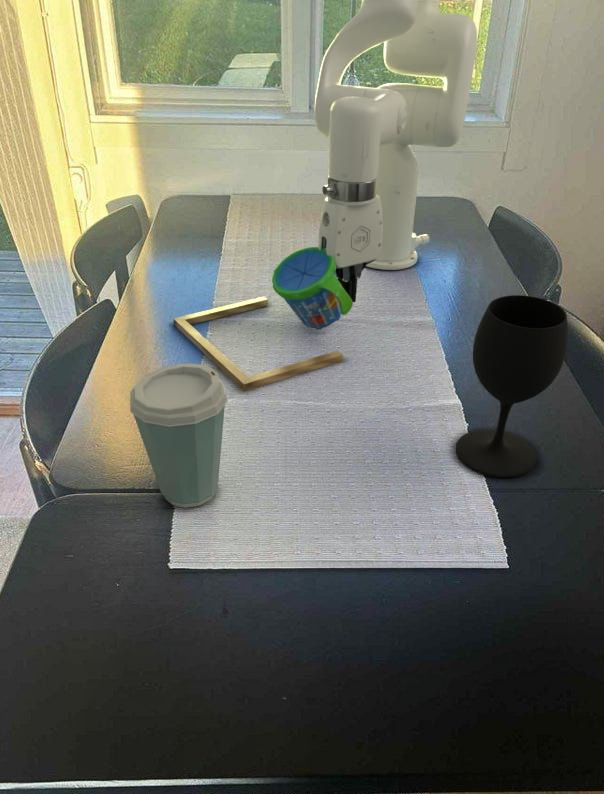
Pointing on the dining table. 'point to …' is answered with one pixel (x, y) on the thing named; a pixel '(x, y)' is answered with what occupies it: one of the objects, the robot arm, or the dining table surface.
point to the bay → (227, 366)
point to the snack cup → (312, 287)
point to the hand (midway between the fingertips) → (346, 300)
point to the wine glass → (513, 376)
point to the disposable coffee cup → (182, 429)
